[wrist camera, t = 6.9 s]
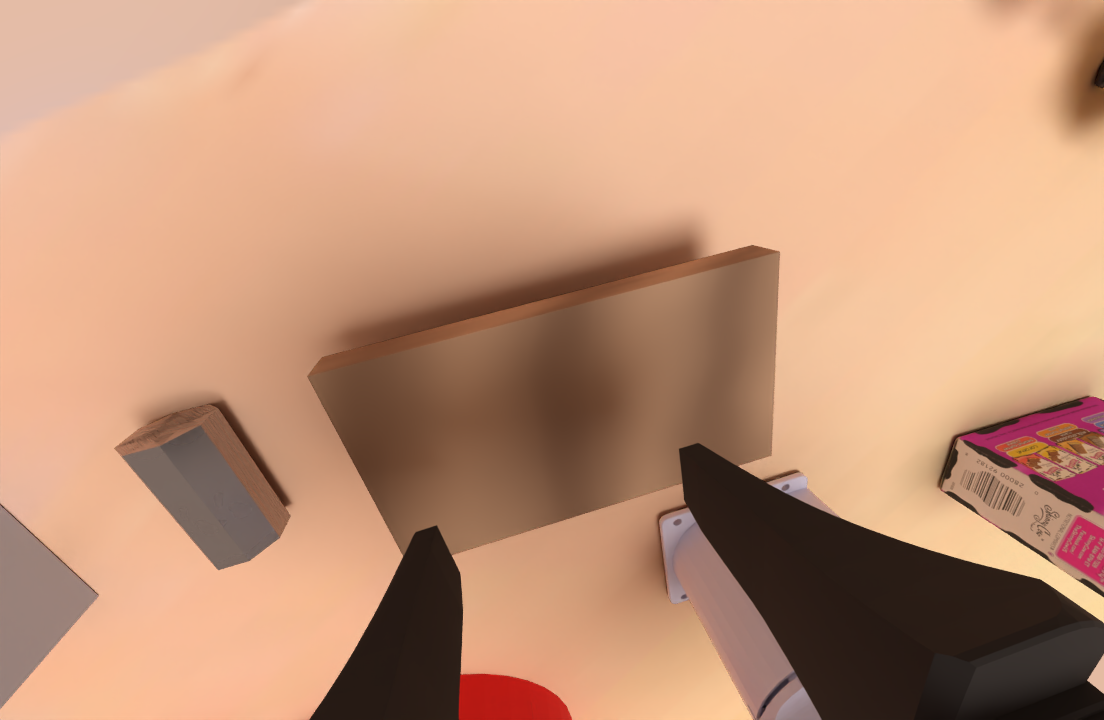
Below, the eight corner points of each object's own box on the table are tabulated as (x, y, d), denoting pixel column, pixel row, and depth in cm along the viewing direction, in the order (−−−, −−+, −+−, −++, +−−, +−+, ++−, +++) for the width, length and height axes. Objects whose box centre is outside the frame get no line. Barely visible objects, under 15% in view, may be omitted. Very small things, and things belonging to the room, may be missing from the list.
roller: (229, 397, 17) (185, 439, 14) (297, 502, 20) (271, 554, 17) (153, 417, 17) (94, 463, 14) (232, 521, 19) (196, 576, 17)
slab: (752, 245, 15) (779, 251, 14) (750, 435, 19) (771, 455, 18) (322, 357, 14) (307, 376, 13) (413, 538, 18) (409, 568, 17)
